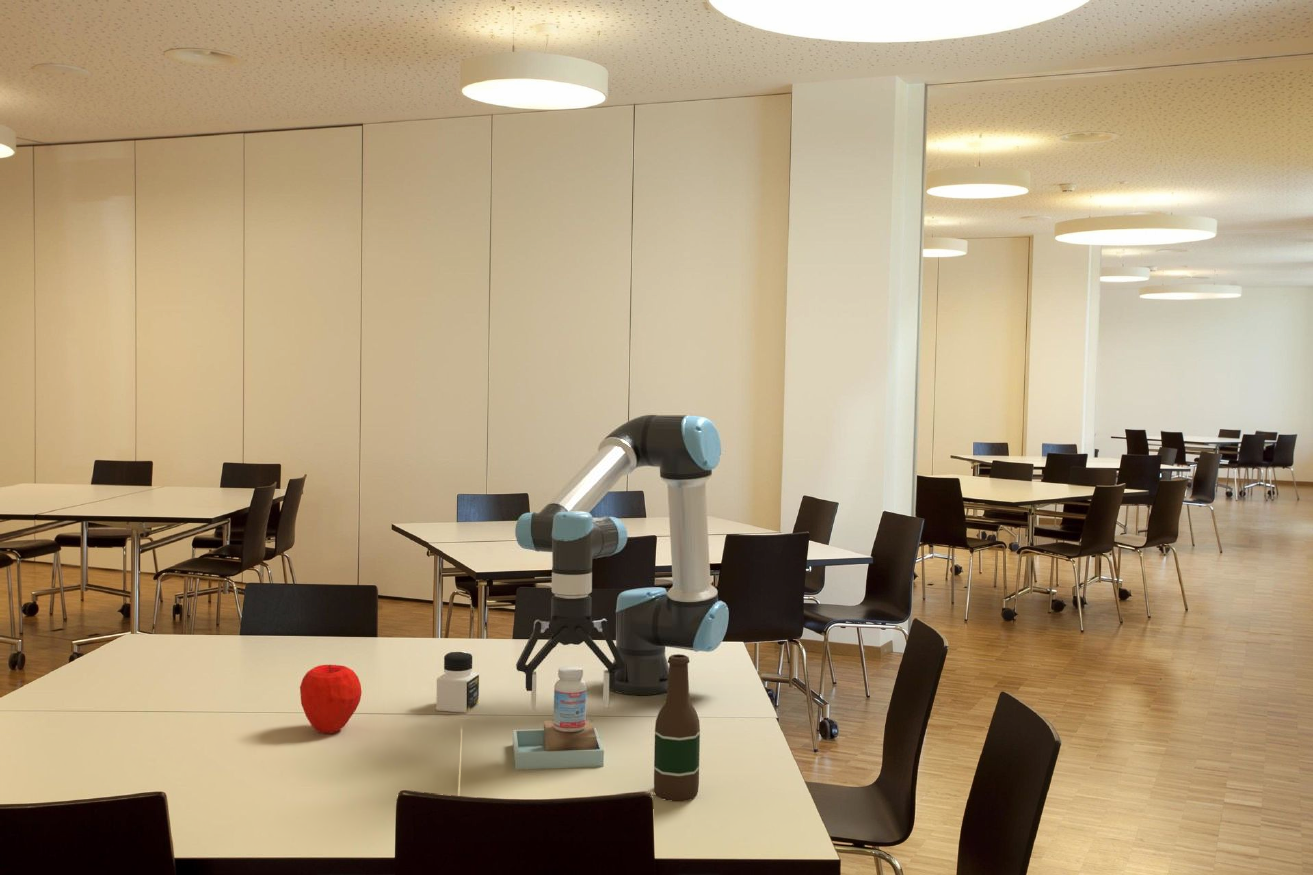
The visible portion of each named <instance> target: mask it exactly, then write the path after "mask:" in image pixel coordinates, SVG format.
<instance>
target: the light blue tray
mask: <svg viewBox="0 0 1313 875" xmlns="http://www.w3.org/2000/svg"><path fill="white" fill-rule="evenodd" d="M593 728H594V731H595V734H596V736H597V741H596V750H568V751H544V728H538V729H535V728H534V729H512V749H513V758H514V767H515V770H540V769H542V770H543V769H565V768H592V767H593V768H594V767H604V762H605V761H604V760H605V758H604V757H605V756H604V754H605V753H604V752H605V751H604V747H603V744H602V741H601V739H600V736H599V733H598V730H597V727H593Z"/></svg>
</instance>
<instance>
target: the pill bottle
mask: <svg viewBox="0 0 1313 875" xmlns="http://www.w3.org/2000/svg"><path fill="white" fill-rule="evenodd" d="M557 676H558V678H559V679H558V680H556V682H555V684H554V689H553V690H554V691H553V693H554V694H553V720H554V721H553V726H554V728H555V729H556V730H558V731H561V732H578V731H581V730H583V729H584V728H585V726H586V717H587V716H586V715H587V684H586V682H585V681H584V680H583V676H584V669H583V668H582V667H578V666H563V667H560V668H558V674H557Z"/></svg>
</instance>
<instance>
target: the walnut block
mask: <svg viewBox="0 0 1313 875" xmlns="http://www.w3.org/2000/svg"><path fill="white" fill-rule="evenodd" d="M553 721H554V719H553V720H551V719H550V720H543V729H544V751H568V750H596V741H597V736H596V734H595V731H594V728H595V727H594V725H593V723H592V720H591V718H590V719H586V726H585V728H584V729H583V730H581V731H578V732H561V731H558V730H556V729H555V728H554V726H553Z"/></svg>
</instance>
